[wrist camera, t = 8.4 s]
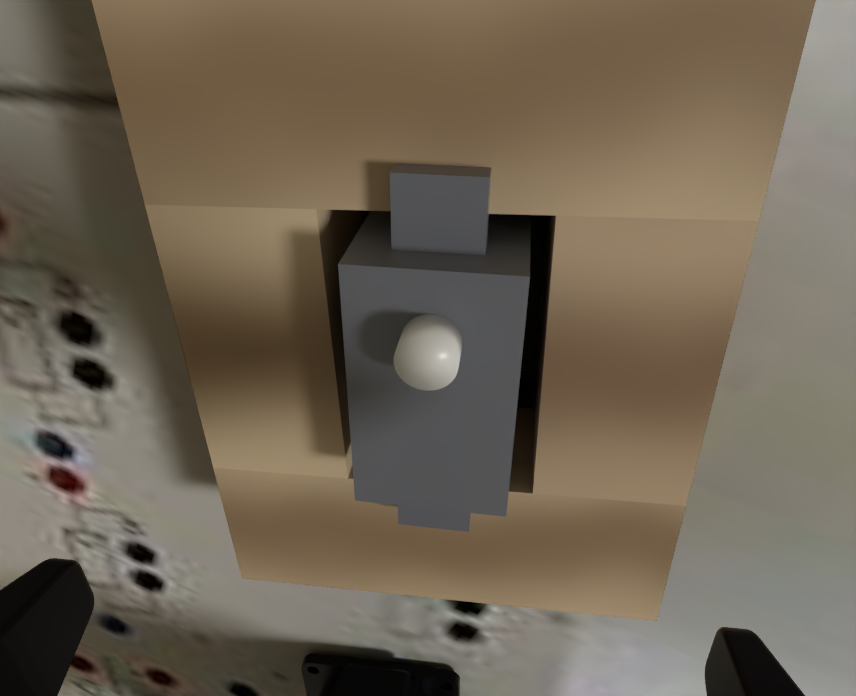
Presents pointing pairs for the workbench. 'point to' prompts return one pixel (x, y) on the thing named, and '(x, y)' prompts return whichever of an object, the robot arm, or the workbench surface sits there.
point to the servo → (435, 346)
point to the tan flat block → (509, 194)
